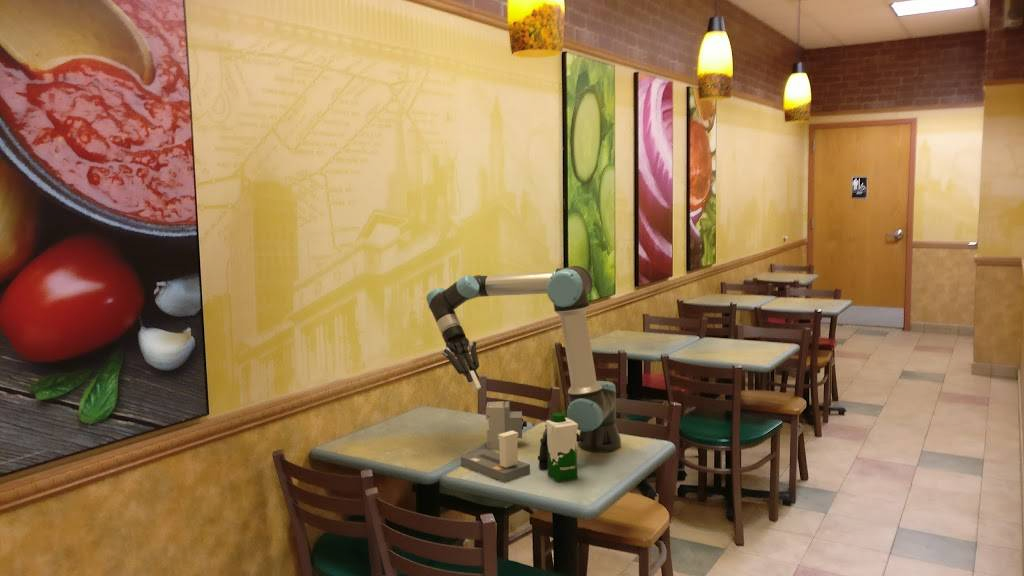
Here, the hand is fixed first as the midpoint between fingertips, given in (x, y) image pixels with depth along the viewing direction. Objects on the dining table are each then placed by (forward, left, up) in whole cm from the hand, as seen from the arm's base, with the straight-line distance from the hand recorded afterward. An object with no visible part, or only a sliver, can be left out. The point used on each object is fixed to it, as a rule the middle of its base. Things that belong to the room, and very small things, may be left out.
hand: (477, 389), depth 271 cm
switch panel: (-11, +8, -24) cm, 27 cm away
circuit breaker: (-3, -15, -24) cm, 28 cm away
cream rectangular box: (-17, +11, -20) cm, 29 cm away
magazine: (-29, -3, -24) cm, 37 cm away
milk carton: (-34, +5, -24) cm, 42 cm away
